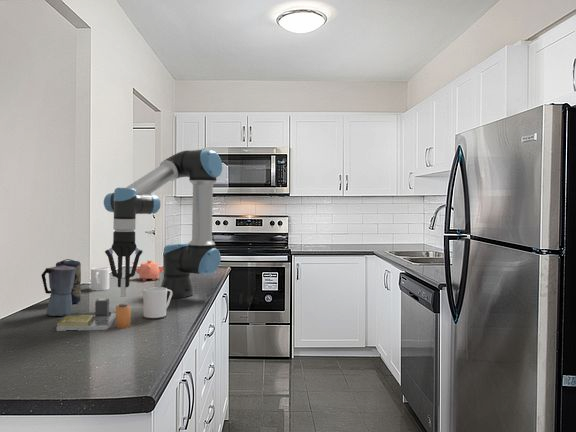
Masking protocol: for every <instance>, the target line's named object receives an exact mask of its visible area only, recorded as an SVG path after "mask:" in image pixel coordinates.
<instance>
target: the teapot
mask: <svg viewBox="0 0 576 432" xmlns="http://www.w3.org/2000/svg"><path fill="white" fill-rule="evenodd" d="M152 261H153V260H147V261H145V262H141V263H140V267H138V266H137V268H136V272H135V273H137V274H138V276H139V279H140V280H141V279H142V282H145V281H147V279H151V281H157V279H159V278H160V273H163V266H161V267H160V268H159V264H158V262H157V261H154V262H152ZM130 263H131V264H132V265H133V264H134V261H130Z"/></svg>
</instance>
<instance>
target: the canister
mask: <svg viewBox="0 0 576 432" xmlns="http://www.w3.org/2000/svg"><path fill="white" fill-rule="evenodd" d="M62 261H65V263H64V265H65V266H70V267H75V268H76V272H75V278H74V284H73V288H72V291H71V298H72V304H76V303H78V302H80V301H81V299H82V298H81V297H82V296H81V295H82V293H81V292H82V285H81V281H82V272H81V271H82V270H81V269H82V267H81V265H82V264H81V262H80V261H79V260H74V259H71V258H69V259H67V258H66V259H63V260H62ZM60 265H61V262H60V261H58V262H56V263H55V266H60Z"/></svg>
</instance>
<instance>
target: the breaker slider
mask: <svg viewBox="0 0 576 432" xmlns="http://www.w3.org/2000/svg"><path fill="white" fill-rule="evenodd" d="M94 303H95V308H94V309H95V310H94V311H95V316H108V315H109V312H110V298H97V299H96V300H95V302H94Z"/></svg>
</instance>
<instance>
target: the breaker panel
mask: <svg viewBox="0 0 576 432" xmlns="http://www.w3.org/2000/svg"><path fill="white" fill-rule="evenodd" d="M114 320H116V312H114V313H113V312H111V311H109V315H108V316H95V312H94V311H92V312H90V311H89V312H86V311H85V312H73V313H70V314H69V315H66V316H62V317H61V319H60V320H59V321H57V325H56V332H67V331H66V330H78V331H107V330H109V328H110V327H111V326H112V324H113V322H114Z"/></svg>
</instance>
